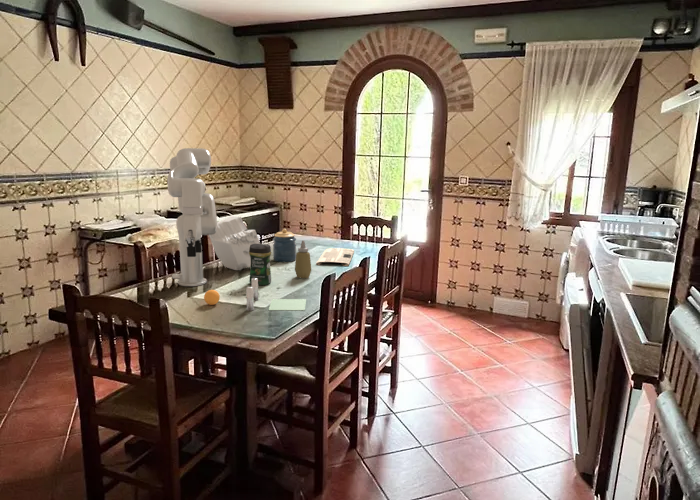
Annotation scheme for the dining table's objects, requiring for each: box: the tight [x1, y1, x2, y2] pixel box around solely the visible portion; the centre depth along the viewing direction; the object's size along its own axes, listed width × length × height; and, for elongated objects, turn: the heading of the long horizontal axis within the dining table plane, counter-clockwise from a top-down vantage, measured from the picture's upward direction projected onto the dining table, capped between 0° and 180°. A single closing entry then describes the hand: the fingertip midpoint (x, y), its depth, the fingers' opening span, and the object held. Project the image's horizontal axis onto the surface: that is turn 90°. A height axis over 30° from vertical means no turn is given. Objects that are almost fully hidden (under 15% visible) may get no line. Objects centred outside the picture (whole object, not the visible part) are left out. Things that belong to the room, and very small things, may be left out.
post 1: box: [245, 286, 255, 312], centre depth 193 cm, size 3×3×9 cm
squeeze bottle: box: [294, 240, 312, 279], centre depth 242 cm, size 8×8×18 cm
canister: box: [272, 228, 297, 263], centre depth 279 cm, size 13×13×18 cm
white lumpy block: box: [208, 215, 261, 271], centre depth 258 cm, size 20×16×25 cm
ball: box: [203, 289, 221, 306], centre depth 199 cm, size 6×6×6 cm
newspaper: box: [315, 247, 355, 267], centre depth 287 cm, size 37×19×3 cm, turn 175°
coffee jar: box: [249, 243, 272, 286], centre depth 229 cm, size 10×8×19 cm
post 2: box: [250, 278, 259, 302], centre depth 205 cm, size 3×3×9 cm
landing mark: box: [268, 298, 307, 311], centre depth 201 cm, size 14×14×1 cm
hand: (194, 254), depth 198 cm, fingers open, 9 cm apart
